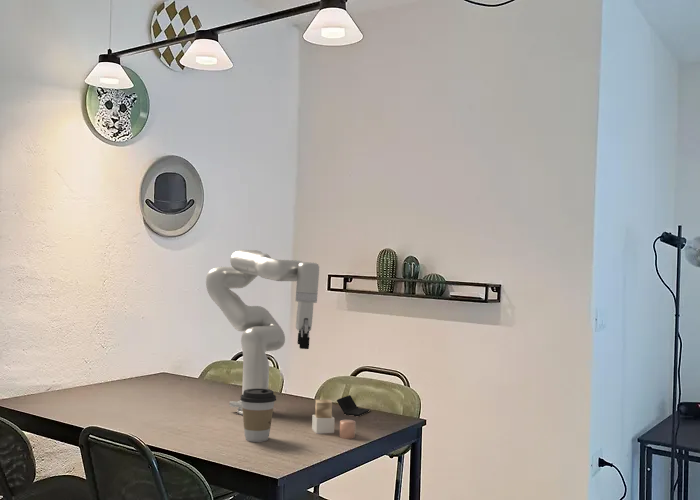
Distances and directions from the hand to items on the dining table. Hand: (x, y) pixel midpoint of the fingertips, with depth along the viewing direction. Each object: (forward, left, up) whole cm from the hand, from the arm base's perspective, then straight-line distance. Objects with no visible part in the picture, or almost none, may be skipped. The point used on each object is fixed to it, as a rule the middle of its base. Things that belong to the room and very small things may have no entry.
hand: (302, 346), depth 238 cm
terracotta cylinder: (+13, -20, -27) cm, 36 cm away
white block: (+7, -12, -27) cm, 30 cm away
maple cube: (+6, -12, -22) cm, 25 cm away
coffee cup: (-16, -22, -27) cm, 38 cm away
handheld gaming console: (+21, +16, -27) cm, 38 cm away
